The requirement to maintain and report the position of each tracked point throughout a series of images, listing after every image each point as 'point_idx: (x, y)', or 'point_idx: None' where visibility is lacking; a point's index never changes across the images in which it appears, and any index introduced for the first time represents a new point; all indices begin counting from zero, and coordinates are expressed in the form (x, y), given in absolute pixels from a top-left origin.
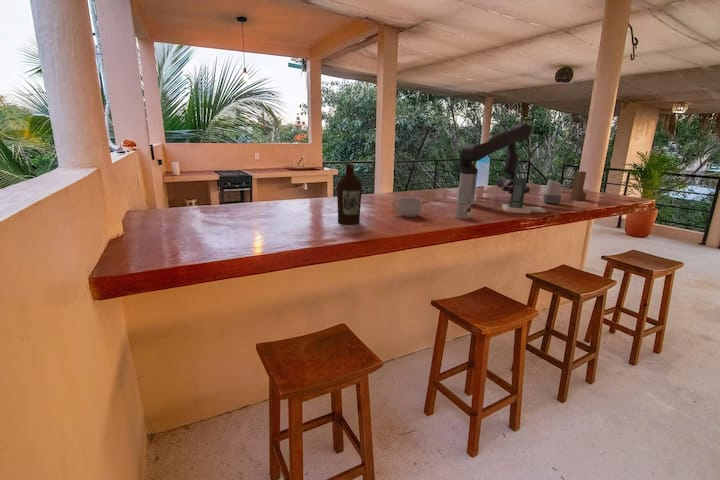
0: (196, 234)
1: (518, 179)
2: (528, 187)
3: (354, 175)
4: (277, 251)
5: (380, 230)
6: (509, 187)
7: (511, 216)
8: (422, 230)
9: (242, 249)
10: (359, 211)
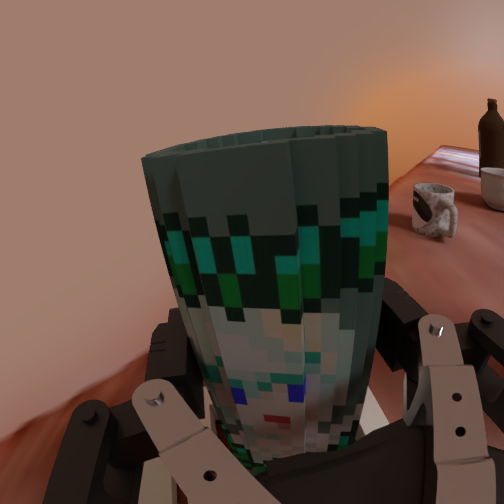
0: None
1: (294, 136)
2: (52, 498)
3: (487, 112)
4: (435, 153)
5: (442, 172)
6: (431, 316)
7: None
8: (411, 179)
9: (450, 153)
10: (482, 161)
